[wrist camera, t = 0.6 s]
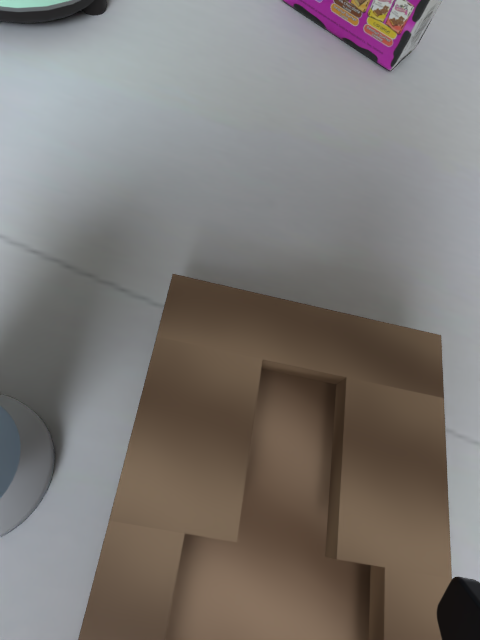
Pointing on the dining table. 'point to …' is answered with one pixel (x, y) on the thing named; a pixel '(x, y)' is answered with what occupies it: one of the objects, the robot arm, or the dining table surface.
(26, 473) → the keyhole stud
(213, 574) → the keyhole board
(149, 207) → the dining table surface
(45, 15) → the mint green blender
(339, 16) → the candy bar box
